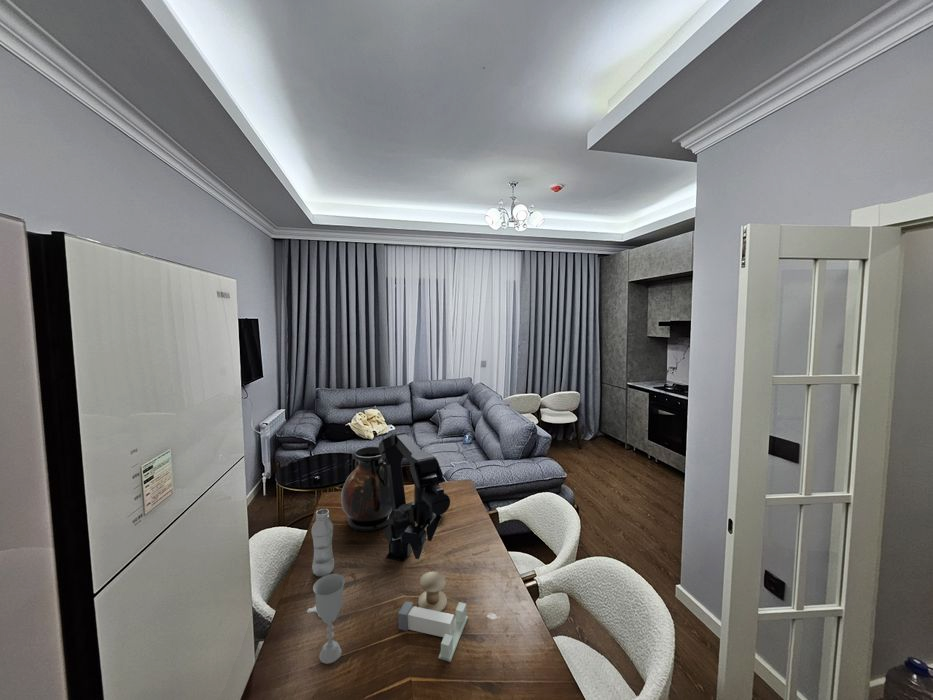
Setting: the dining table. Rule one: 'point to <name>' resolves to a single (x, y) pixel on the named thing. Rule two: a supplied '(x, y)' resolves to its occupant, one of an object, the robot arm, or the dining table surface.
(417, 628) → the mallet
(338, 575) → the chalice
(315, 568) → the plastic bottle
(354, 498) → the amphora vase
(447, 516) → the dining table surface
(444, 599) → the bobbin
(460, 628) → the notched board
